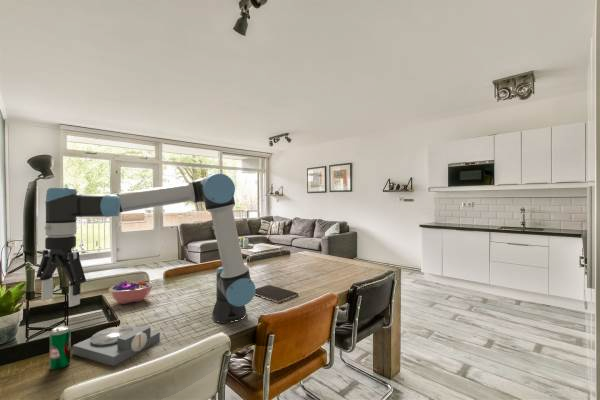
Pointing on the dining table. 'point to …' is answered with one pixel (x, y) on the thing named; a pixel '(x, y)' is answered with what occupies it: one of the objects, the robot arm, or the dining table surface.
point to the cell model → (130, 291)
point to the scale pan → (109, 335)
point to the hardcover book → (274, 293)
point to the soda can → (60, 347)
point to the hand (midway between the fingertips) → (60, 302)
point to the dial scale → (118, 346)
